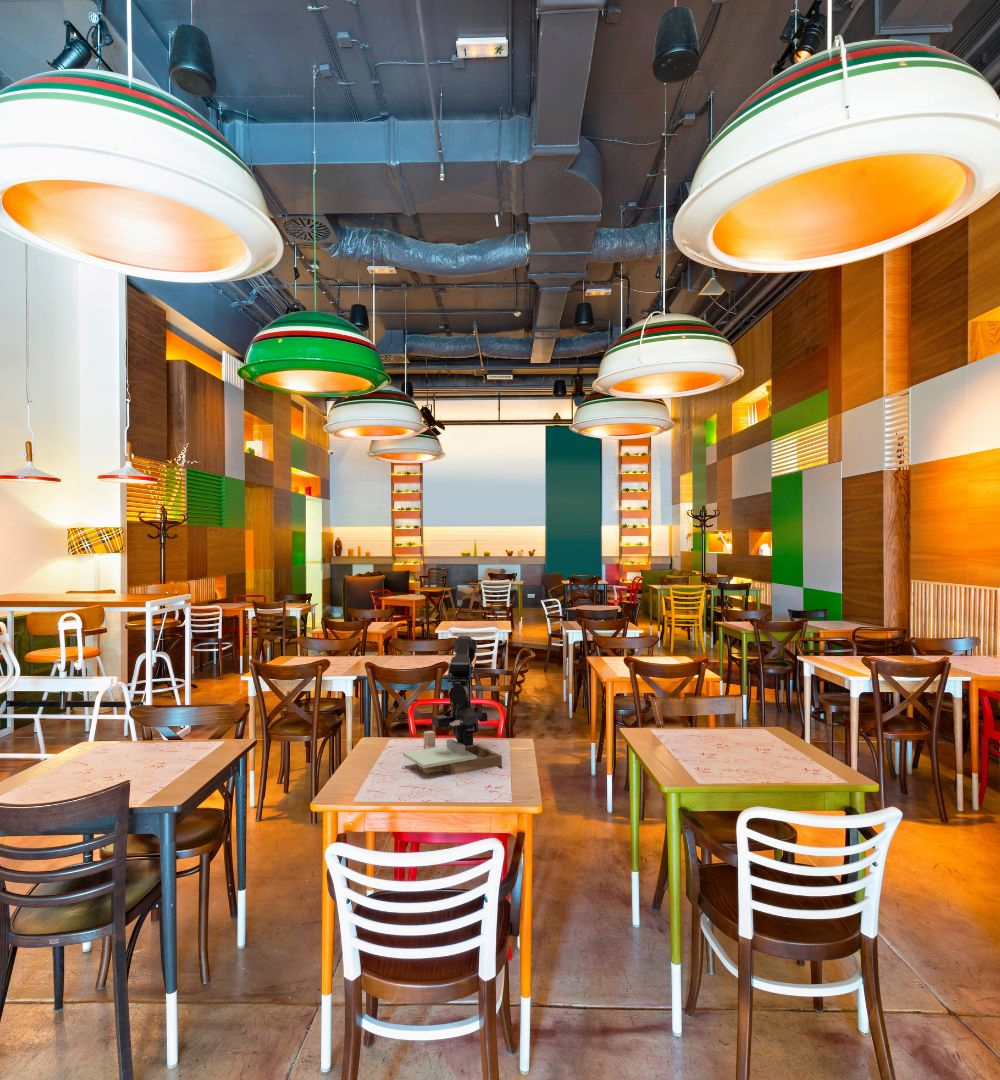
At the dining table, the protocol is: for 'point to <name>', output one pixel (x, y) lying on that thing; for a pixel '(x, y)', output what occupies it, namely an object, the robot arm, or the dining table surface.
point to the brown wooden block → (429, 739)
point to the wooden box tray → (469, 762)
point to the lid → (440, 755)
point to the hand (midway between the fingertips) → (460, 744)
